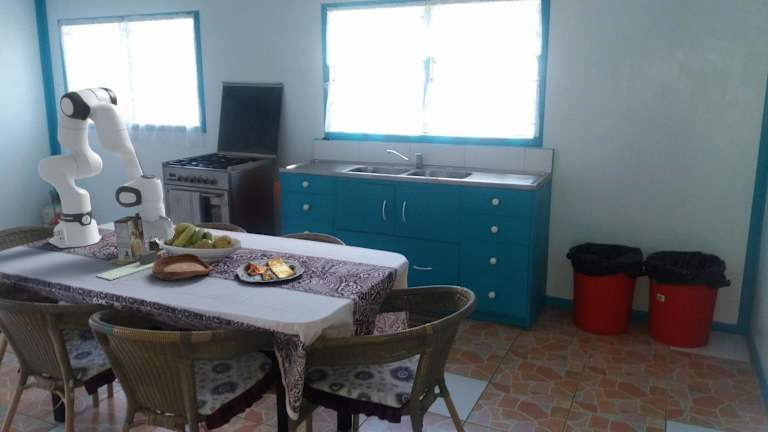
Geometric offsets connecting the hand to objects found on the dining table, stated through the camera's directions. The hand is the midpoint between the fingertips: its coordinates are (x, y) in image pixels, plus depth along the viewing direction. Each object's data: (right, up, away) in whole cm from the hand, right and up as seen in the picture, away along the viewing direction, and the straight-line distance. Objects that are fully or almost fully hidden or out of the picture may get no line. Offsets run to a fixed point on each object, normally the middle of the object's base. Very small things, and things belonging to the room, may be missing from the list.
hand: (156, 247), depth 251 cm
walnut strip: (-4, -4, -6) cm, 8 cm away
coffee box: (-6, -4, -9) cm, 12 cm away
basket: (+20, -9, -27) cm, 35 cm away
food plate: (+52, -9, -29) cm, 60 cm away
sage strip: (-2, -8, -23) cm, 24 cm away
